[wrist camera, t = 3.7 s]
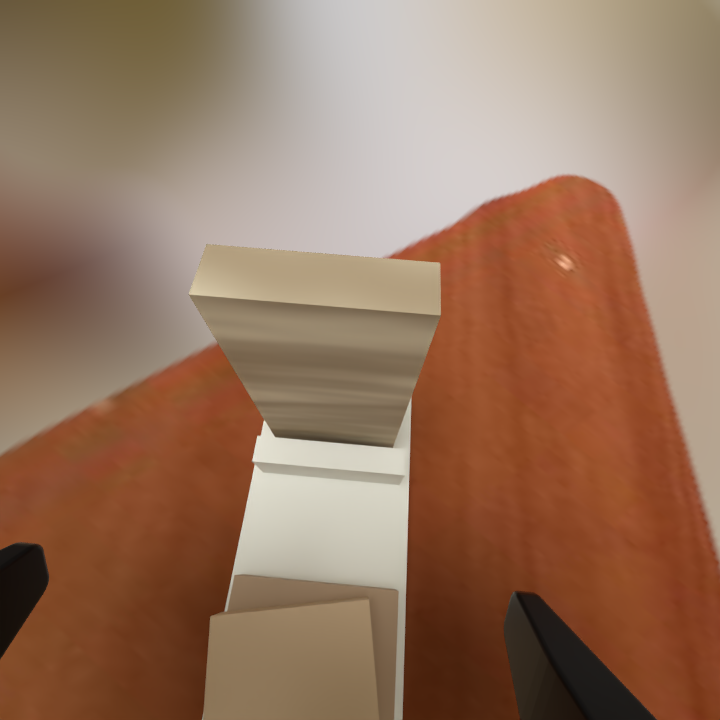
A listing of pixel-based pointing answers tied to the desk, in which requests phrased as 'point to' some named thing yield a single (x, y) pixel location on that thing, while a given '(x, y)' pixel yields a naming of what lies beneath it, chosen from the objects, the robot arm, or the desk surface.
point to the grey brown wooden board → (321, 336)
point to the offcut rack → (316, 586)
